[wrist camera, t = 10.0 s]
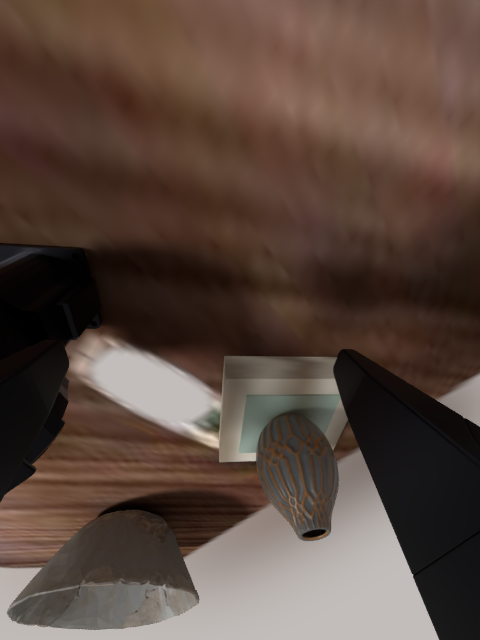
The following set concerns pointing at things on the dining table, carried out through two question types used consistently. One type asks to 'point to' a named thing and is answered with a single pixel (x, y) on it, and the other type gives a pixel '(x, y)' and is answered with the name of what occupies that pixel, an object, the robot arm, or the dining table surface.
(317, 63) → the dining table surface
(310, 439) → the vase
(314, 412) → the plinth
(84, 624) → the ceramic bowl
